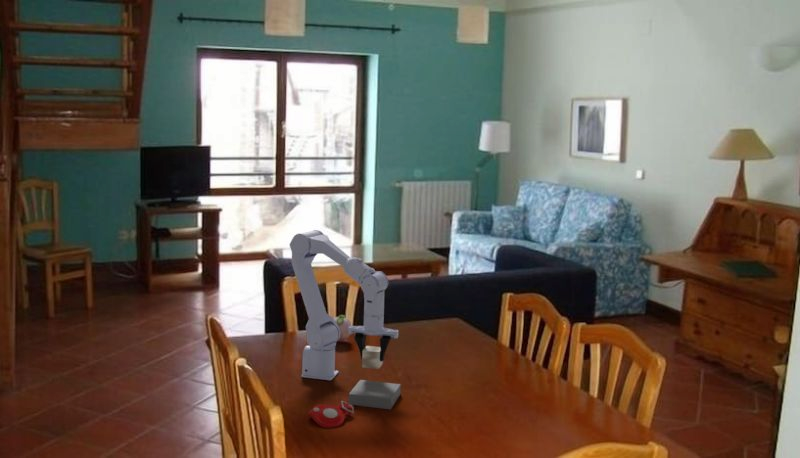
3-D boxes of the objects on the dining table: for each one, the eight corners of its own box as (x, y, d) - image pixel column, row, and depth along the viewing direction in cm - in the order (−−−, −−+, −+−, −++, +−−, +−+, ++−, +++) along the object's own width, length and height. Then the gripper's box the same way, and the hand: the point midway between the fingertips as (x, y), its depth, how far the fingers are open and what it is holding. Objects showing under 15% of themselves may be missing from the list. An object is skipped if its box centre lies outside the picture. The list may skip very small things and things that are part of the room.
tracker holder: (338, 427, 203) (303, 412, 205) (335, 440, 205) (301, 425, 207) (358, 401, 213) (325, 387, 216) (355, 414, 215) (323, 400, 218)
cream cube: (361, 367, 232) (362, 350, 231) (366, 362, 237) (366, 345, 236) (378, 368, 231) (379, 352, 230) (382, 363, 236) (383, 347, 235)
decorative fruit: (327, 338, 281) (327, 310, 279) (350, 338, 282) (351, 310, 280) (327, 346, 272) (328, 317, 270) (351, 346, 273) (352, 318, 271)
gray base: (348, 404, 221) (348, 393, 220) (360, 389, 232) (360, 379, 232) (390, 409, 218) (391, 398, 218) (400, 394, 230) (400, 384, 229)
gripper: (345, 315, 229) (344, 361, 231) (395, 319, 226) (393, 366, 228) (352, 309, 236) (351, 353, 238) (400, 313, 233) (398, 358, 235)
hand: (372, 359), depth 233 cm, fingers closed on cream cube, 5 cm apart
